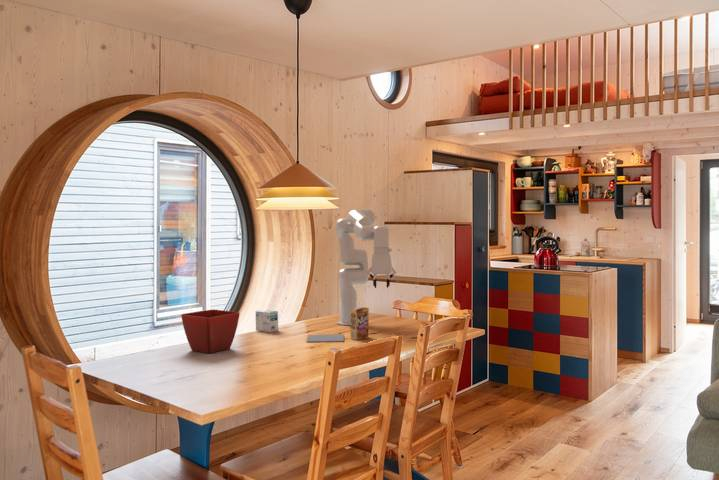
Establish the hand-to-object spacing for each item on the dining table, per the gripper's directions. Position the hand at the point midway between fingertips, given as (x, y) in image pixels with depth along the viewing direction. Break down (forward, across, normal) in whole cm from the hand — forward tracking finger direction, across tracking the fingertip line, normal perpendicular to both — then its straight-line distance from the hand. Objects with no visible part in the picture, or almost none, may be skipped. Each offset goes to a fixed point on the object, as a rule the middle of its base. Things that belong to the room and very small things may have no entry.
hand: (381, 287), depth 293 cm
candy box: (+26, +11, 0) cm, 28 cm away
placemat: (+25, +28, 0) cm, 38 cm away
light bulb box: (+26, +60, -24) cm, 70 cm away
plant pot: (+26, +80, +21) cm, 87 cm away
